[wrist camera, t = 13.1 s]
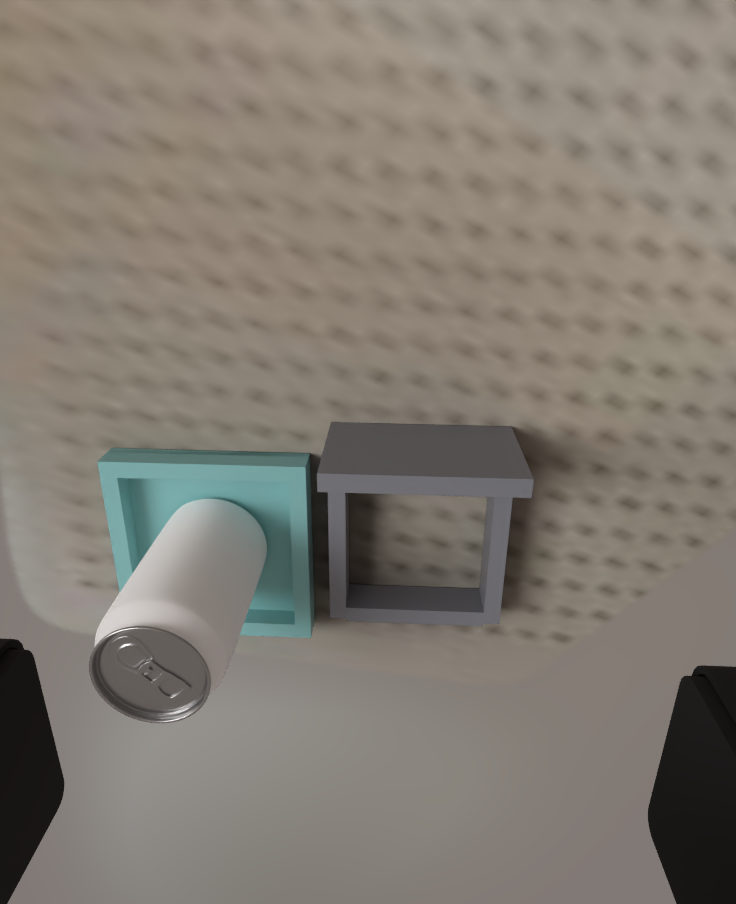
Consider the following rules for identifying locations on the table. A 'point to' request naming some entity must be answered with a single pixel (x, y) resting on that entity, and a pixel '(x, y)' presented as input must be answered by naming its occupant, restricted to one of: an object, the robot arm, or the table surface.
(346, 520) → the bay
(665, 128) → the table surface
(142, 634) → the can
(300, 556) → the tray
